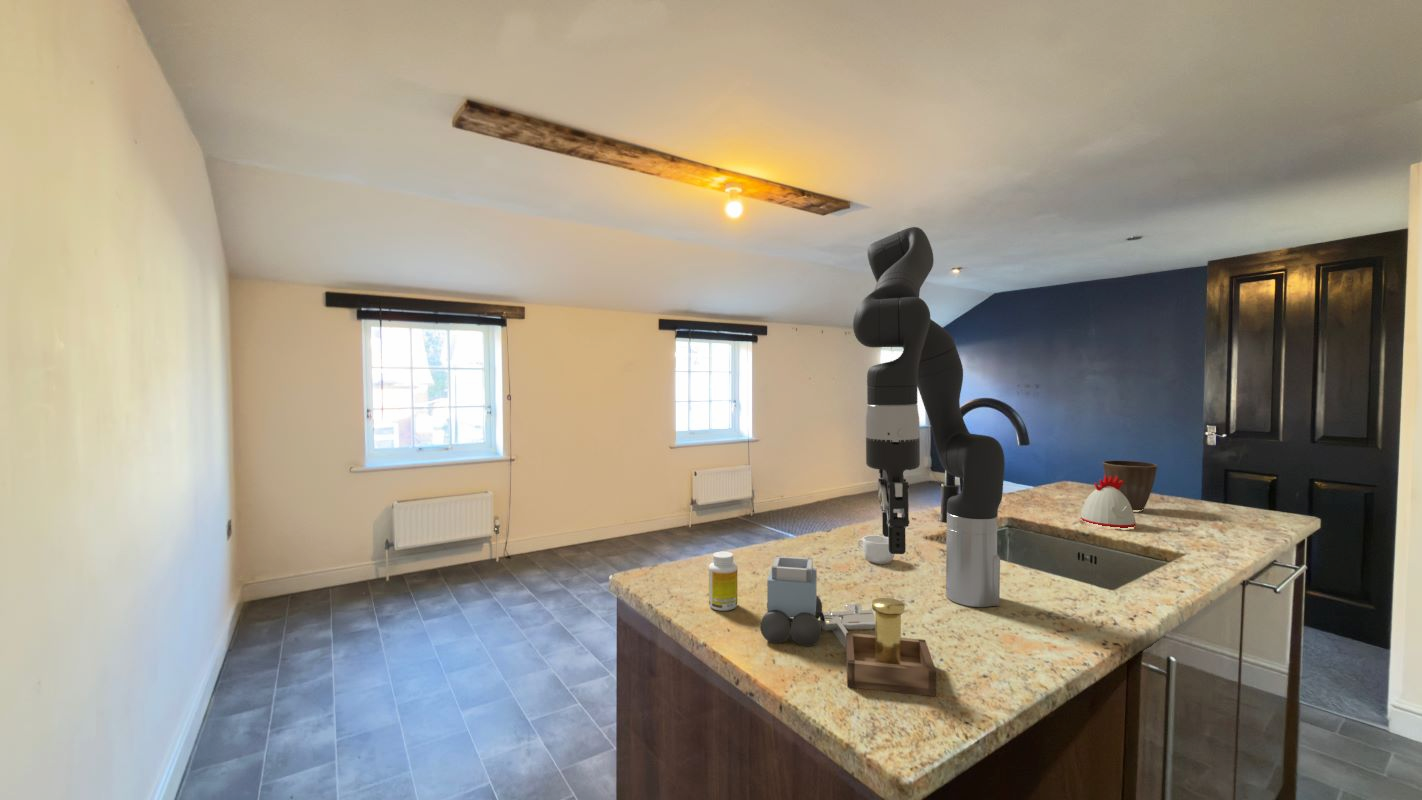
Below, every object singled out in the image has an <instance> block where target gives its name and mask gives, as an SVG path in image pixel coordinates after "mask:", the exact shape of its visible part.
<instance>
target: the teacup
mask: <svg viewBox="0 0 1422 800" xmlns="http://www.w3.org/2000/svg"><path fill="white" fill-rule="evenodd" d="M861 542H862V545H861ZM857 545H858V547H859V548H860V549H861V551H862V552H863V555H864V557H865V559H866V560H867V561H869V562H870V563H873V564H877V565H886V563H887V564H889V563H891V562H892V561H893V559H894V557H895V555H896V554H891V553H890V552H889V544H888V537H885V536H884V535H878V534H872V535H871V534H870V535H865V536H863V537H862V538H859V539H858V540H857Z"/></svg>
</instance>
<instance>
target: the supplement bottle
mask: <svg viewBox="0 0 1422 800" xmlns="http://www.w3.org/2000/svg"><path fill="white" fill-rule="evenodd" d="M734 559H735V558H734V553H732V552H730V551H717V552H714V553H713V555H712V562H711V563H710V564H709V565H708V605H709V606H710V608H711V609H712V610H716V611H720V612H726V611H727V612H728V611H731V610H734V609H736V607H737V606H738V565H737V563H736V562H735V561H734Z"/></svg>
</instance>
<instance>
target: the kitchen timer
mask: <svg viewBox="0 0 1422 800" xmlns="http://www.w3.org/2000/svg"><path fill="white" fill-rule="evenodd" d="M1098 483H1099V485H1098ZM1098 483H1096V482H1094V487H1095V489H1094V490H1093V491H1092V492H1091V493H1090V494H1089V495H1088V496H1087V497H1086V499H1085V501H1084V503H1083V505H1082V508H1081V511H1080V519H1082V520H1083V521H1086V522H1089V523H1093V524H1098V525H1102V526H1110V527H1120V528H1128V527H1134V526H1136V525H1137V524H1136V518H1135V514H1134V513H1135V512H1133V510H1132V508H1131V505H1130V503H1129V501H1128V500H1127V498H1126V497H1125V496H1124V495H1123V494H1122V493H1121V492H1120V491H1119V489H1120V487H1121V485H1122V483H1123V481H1122V480H1121V481H1120V482H1119V480H1118V477H1117V476H1116V477H1115V479H1114V482H1113V478H1112V476H1109V481H1108V478H1107V476H1105V475H1104V476H1103V480H1102V479H1098ZM1080 519H1079V520H1080ZM1136 527H1137V526H1136Z"/></svg>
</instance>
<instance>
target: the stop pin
mask: <svg viewBox="0 0 1422 800" xmlns="http://www.w3.org/2000/svg"><path fill="white" fill-rule="evenodd" d="M871 602H872V603H871V609H872V610H873V611H874V612H875V613H874V618H875V628H874V629H875V633H874V635H875V662H877V663H887V664H897V665H900V655H901V638H902V637H901V636H902V635H901V634H902V633H901V631H902V630H901V629H902V627H901V626H902V623H901V622H902V615H903V614H904V613H905V610H906V609H905V607H906V606H905V604H904V603H903V601H901V600H899V599H895V598H890V597H877V598H874V599H872V601H871Z"/></svg>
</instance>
